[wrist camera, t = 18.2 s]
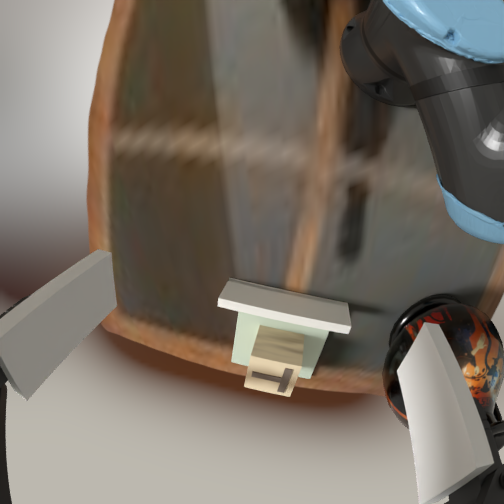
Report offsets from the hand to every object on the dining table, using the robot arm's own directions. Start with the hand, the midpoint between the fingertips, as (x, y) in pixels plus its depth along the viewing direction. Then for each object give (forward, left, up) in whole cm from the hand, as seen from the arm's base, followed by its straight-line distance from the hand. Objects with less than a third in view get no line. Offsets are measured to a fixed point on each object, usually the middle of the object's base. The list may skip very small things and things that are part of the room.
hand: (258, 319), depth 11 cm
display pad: (+12, +26, -32) cm, 43 cm away
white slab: (+7, +17, -32) cm, 36 cm away
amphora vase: (-16, +32, -32) cm, 48 cm away
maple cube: (+12, +26, -31) cm, 42 cm away
